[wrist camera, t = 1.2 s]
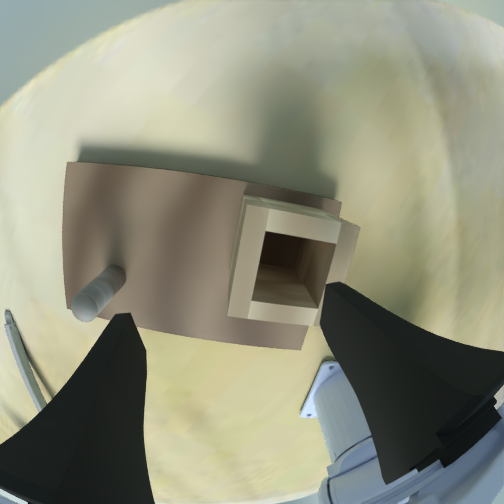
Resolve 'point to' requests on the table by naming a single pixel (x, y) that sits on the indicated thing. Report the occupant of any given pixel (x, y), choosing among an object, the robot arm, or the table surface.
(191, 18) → the table surface
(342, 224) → the hollow square tube
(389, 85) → the table surface
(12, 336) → the caliper
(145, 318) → the brown board with peg
